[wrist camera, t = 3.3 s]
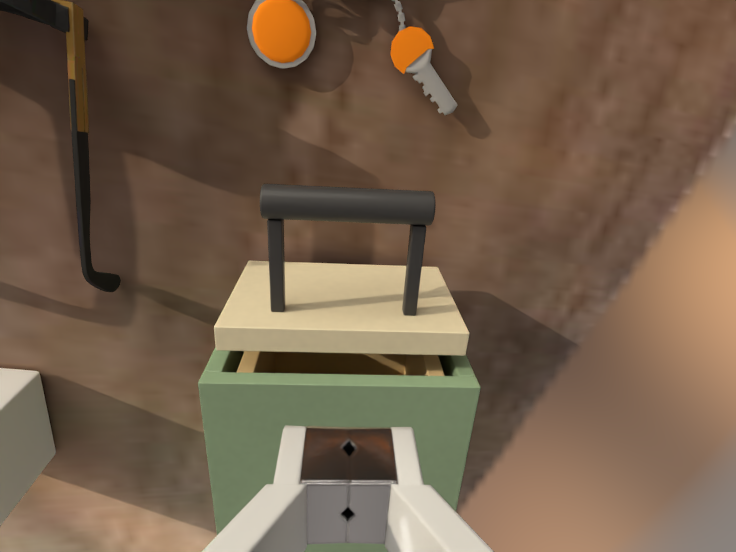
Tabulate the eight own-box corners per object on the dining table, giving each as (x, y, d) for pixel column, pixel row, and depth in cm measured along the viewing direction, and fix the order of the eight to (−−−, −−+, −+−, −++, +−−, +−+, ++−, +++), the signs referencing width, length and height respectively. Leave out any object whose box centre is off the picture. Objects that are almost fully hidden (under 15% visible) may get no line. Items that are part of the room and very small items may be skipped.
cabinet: (243, 287, 27) (197, 383, 18) (440, 293, 28) (480, 387, 19) (255, 469, 33) (225, 601, 25) (415, 470, 34) (438, 598, 25)
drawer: (242, 157, 23) (199, 191, 16) (450, 168, 23) (492, 204, 17) (259, 445, 31) (235, 547, 24) (414, 446, 32) (432, 545, 25)
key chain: (202, 41, 21) (197, 40, 20) (230, -148, 18) (225, -158, 18) (448, 125, 23) (451, 127, 22) (507, -34, 20) (513, -38, 20)
